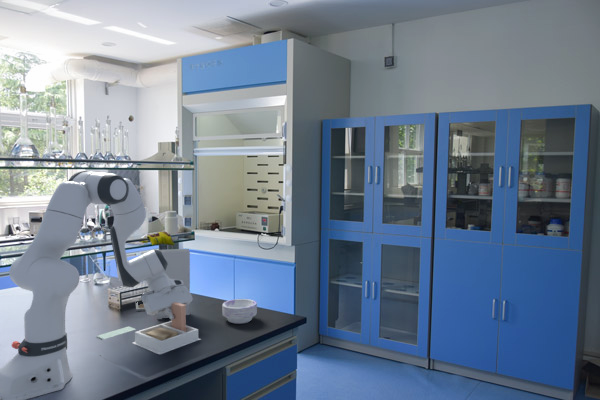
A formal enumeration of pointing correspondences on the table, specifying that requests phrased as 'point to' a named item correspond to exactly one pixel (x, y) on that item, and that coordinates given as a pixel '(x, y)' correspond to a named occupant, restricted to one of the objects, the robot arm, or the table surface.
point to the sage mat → (115, 332)
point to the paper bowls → (239, 310)
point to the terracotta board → (179, 316)
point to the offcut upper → (161, 334)
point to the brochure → (177, 270)
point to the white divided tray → (169, 343)
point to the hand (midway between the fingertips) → (177, 317)
